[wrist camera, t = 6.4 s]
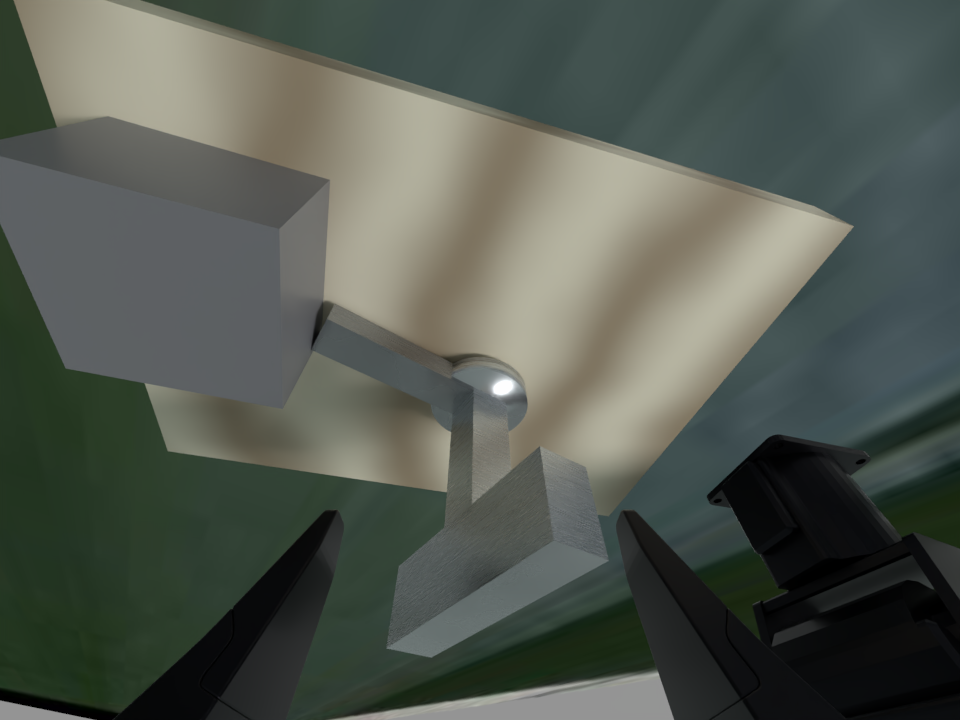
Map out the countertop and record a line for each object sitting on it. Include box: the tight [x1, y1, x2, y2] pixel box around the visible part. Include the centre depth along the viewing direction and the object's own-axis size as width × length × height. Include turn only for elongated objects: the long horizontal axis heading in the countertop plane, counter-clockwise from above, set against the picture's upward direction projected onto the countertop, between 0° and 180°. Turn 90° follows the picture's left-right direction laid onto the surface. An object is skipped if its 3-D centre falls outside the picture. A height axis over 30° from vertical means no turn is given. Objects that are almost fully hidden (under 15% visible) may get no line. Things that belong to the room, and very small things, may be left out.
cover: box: [0, 116, 330, 409], centre depth 12 cm, size 6×6×4 cm
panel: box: [14, 0, 854, 516], centre depth 18 cm, size 24×18×2 cm
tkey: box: [311, 304, 609, 657], centre depth 13 cm, size 8×9×8 cm
